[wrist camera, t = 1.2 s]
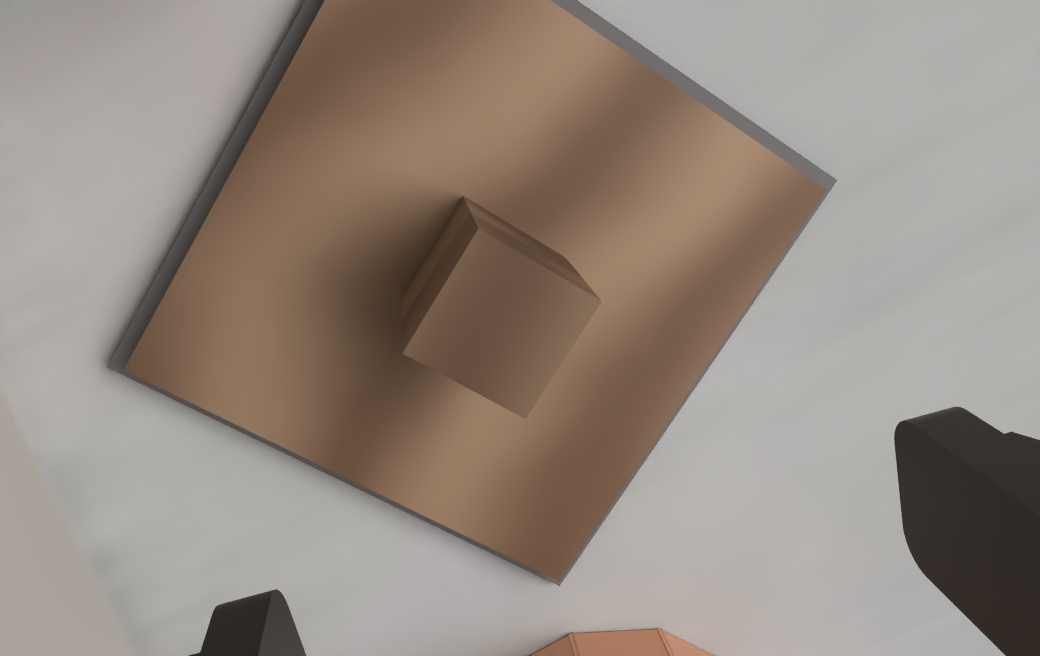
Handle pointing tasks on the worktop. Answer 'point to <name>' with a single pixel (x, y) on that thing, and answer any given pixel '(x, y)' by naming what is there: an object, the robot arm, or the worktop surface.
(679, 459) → the worktop surface
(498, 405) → the walnut lid
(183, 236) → the charcoal mat
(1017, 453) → the robot arm
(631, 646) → the terracotta bowl
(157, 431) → the worktop surface
